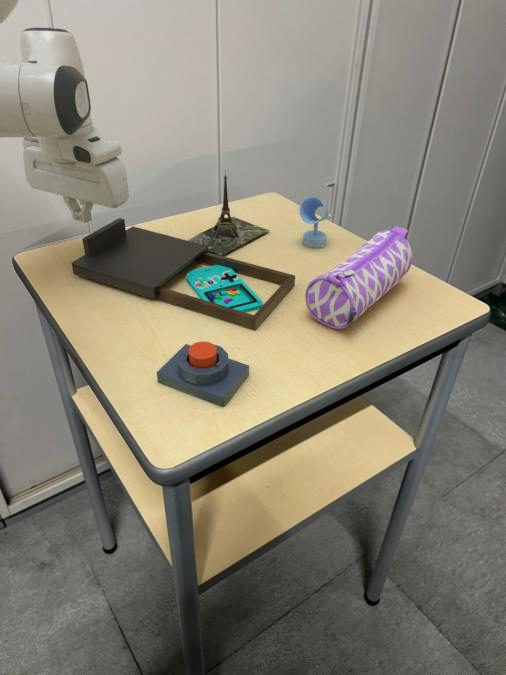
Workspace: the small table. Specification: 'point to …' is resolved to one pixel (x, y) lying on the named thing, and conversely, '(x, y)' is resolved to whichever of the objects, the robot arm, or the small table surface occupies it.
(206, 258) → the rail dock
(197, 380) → the button block
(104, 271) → the lid
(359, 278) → the pencil case
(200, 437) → the small table surface
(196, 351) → the button
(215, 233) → the eiffel tower figurine
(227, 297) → the handheld gaming console
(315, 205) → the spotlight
